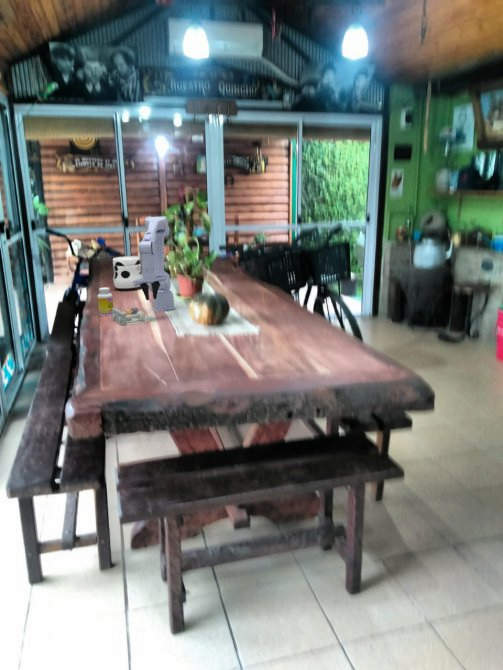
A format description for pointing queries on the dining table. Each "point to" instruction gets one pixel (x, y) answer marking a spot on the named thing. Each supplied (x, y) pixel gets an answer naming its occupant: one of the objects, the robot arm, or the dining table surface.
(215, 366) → the dining table surface
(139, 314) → the ivory knob
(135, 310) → the charcoal knob
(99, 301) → the supplement bottle
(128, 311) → the dial
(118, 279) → the milk container
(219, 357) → the dining table surface
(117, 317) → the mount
